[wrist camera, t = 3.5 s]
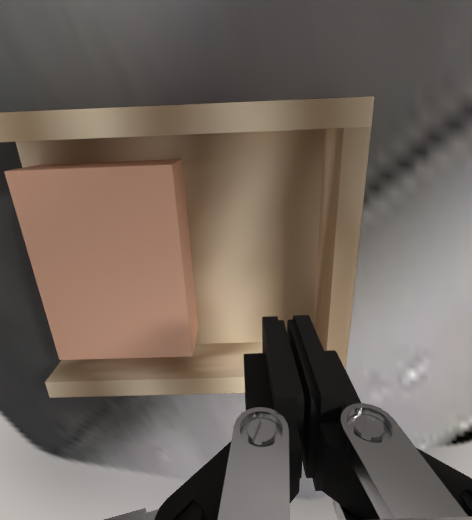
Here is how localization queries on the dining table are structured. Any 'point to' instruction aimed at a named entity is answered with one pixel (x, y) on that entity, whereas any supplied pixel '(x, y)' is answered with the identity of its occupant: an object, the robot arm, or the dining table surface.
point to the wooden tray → (229, 223)
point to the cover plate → (110, 256)
